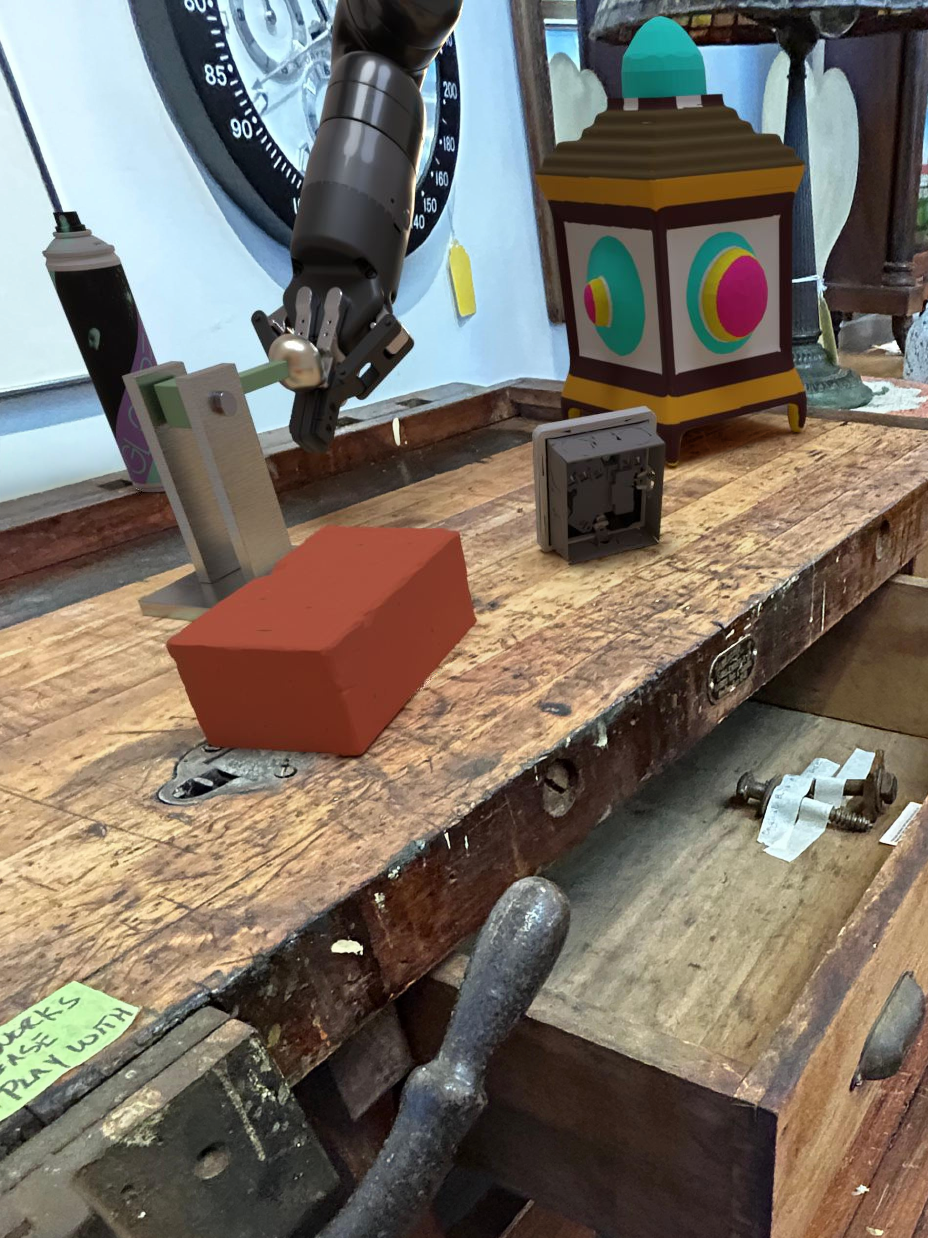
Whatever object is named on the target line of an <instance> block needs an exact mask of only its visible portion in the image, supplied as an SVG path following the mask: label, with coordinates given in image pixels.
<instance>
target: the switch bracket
mask: <svg viewBox="0 0 928 1238" xmlns="http://www.w3.org/2000/svg"><path fill="white" fill-rule="evenodd" d="M238 373H239V372H238V368H237V364H236V363H235V362H221V363H218V364H214V365H212V366H208V367H205V368H202V369H199V370H196V371H192V372H190V373H188V371H187V368H186V365H185V363H184V361H181V360H180V361H179V360H170V361H166V362H164V363H163V362H162V363H159V364H158V365H156V366H153V367H150V368H147V369H143V370H140V371H137V372H133V373H130V374H127V375H123V376H122V378H123V381H124V383H125V386H126V388H127V391H128V394H129V396H130V399H131V402H132V404H133V407H134V410H135V412H136V415H137V418H138V420H139V423H140V425H141V428H142V431H143V433H144V436H145V439H146V441H147V444H148V447H149V449H150V452H151V454H152V457H153V460H154V462H155V465H156V468H157V470H158V473H159V476H160V478H161V481H162V483H163V486H164V489H165V491H164V492H165V495H166V497H167V499H168V502H169V505H170V507H171V509H172V513H173V515H174V517H175V520H176V524H177V526H178V528H179V531H180V534H181V536H182V540H183V541H184V544H185V546H186V550H187V553H188V555H189V557H190V559H191V563H192V566H193V567H194V571H192V572H191V573H188V574H186V575H184V576H182V577H181V578H179V579H177V580H175V581H173V582H170V583H169V584H167V585H165V586H163V587H161V588H159V589H157V590H156V591H154V592H152V593H150V594H148V595H146V596H144V597H142V598H140V599H139V600H137V603H138V605H139V608H140V610H141V612H142V615H143V616H147V617H156V618H164V619H173V620H181V621H188V622H189V621H191V622H193V621H195V620H196V619H197V618H199V617H200V616H201V615H203V614H204V613H205V612H207V611H208V610H210V609H211V608H212V607H214V606H215V605H216V604H218V603H219V602H221V601H222V600H224V599H225V598H227V597H228V596H230V595H231V594H233V593H234V592H236V591H237V590H238V589H240V588H242V587H243V586H244V585H246V584H248V583H249V582H250V581H252V580H253V579H255V578H260V577H264V576H268V575H270V574H272V571H273V568H274V567H275V565H276V564H277V563H278V562H279V561H280V560H281V559H282V558H283V557H284V556H286V555H287V554H288V553H289V552H291V551H292V550H294V549H295V548H297V547H298V546H299V545H295V544H292V541H291V538H290V535H289V531H288V529H287V526H286V521H285V519H284V516H283V513H282V509H281V506H280V503H279V499H278V496H277V493H276V490H275V487H274V483H273V480H272V477H271V474H270V471H269V468H268V463H267V461H266V457H265V455H264V451H263V449H262V448H263V447H262V445H261V442H260V439H259V436H258V433H257V430H256V426H255V422H254V420H253V417H252V413H251V410H250V407H249V404H248V400H247V397H246V394H244V390H243V387H242V384H241V381H240V378H239V374H238ZM176 377H177V378H176ZM173 378H175V381H176V384H177V387H178V390H179V393H180V396H181V399H182V401H183V404H184V407H185V410H186V413H187V416H188V419H189V422H190V424H191V427H192V429H186V428H170V427H169V426H168V424H167V421H166V418H165V416H164V413H163V410H162V407H161V405H160V402H159V399H158V396H157V394H156V391H155V388H154V385H155V384H158V383H161V382H164V381H167V380H170V379H173Z"/></svg>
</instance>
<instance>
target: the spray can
mask: <svg viewBox="0 0 928 1238" xmlns="http://www.w3.org/2000/svg"><path fill="white" fill-rule="evenodd" d="M52 215H53V218H54V221H55V224H56V226H54V229H55V231H52V236H53V237H54V238H53V239H52V240H51V241H50V243H49V244H48V246H47V247H46V248H45V249H44V250H42V251H41V253H42V257H44V258H45V263H44V264H45V267H46V270H47V272H48V275H49V277H50V280H51V282H52V285H53V288H54V290H55V292H56V295H57V297H58V299H59V302H60V306H61V307H62V310H63V312H64V315H65V317H66V320H67V322H68V325H69V327H70V330H71V333H72V335H73V337H74V341H75V343H76V345H77V348H78V350H79V352H80V355H81V358H82V361H83V363H84V366H85V368H86V371H87V373H88V375H89V378H90V380H91V383H92V385H93V388H94V390H95V393H96V396H97V398H98V401H99V403H100V405H101V408H102V411H103V413H104V415H105V418H106V420H107V423H108V426H109V428H110V430H111V433H112V435H113V438H114V440H115V443H116V445H117V448H118V450H119V454H120V456H121V458H122V461H123V463H124V466H125V469H126V471H127V473H128V476H129V478H130V481H131V483H132V485H133V488H134V487H135V488H137V489H139V490H141V491H142V493H162V492H164V493H165V492H166V491H165V489H164V486H163V483H162V481H161V478H160V476H159V473H158V470H157V468H156V465H155V462H154V460H153V457H152V454H151V452H150V449H149V447H148V444H147V441H146V439H145V436H144V433H143V431H142V428H141V425H140V423H139V420H138V418H137V415H136V412H135V410H134V407H133V404H132V402H131V399H130V396H129V394H128V391H127V388H126V386H125V383H124V381H123V378H122V376H123V375H127V374H130V373H133V372H137V371H140V370H143V369H147V368H150V367H153V366H156V365H159V364H158V362H157V361H158V360H157V359H156V356H155V353H154V351H153V348H152V345H151V342H150V339H149V336H148V334H147V330H146V328H145V324H144V322H143V319H142V317H141V314H140V312H139V309H138V305H137V303H136V300H135V297H134V294H133V292H132V288H131V286H130V283H129V280H128V278H127V275H126V272H125V270H124V267H123V264H122V261H121V259H120V257H119V256H118V255H117V253H116V247H115V245H113V244H109V243H108V242H106V241H104V240H102V239H101V238H99V237H97V236H96V235H93V232H92V229H90V228H87V227H86V224H83V223H82V221H81V219H80V217H79V214H78V211H76V210H74V211H73V210H72V211H53V212H52ZM135 488H134V489H135ZM141 491H140V492H141Z"/></svg>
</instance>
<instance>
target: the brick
mask: <svg viewBox="0 0 928 1238" xmlns="http://www.w3.org/2000/svg"><path fill="white" fill-rule="evenodd" d="M297 546H298V547H297V548H295V549H294V550H292V551H291V552H289V553H288V554H287V555H286V556H284V557H283V558H282V559H281V560H280V561H279V562H278V563H277V564H276V565H275V567H274V568H273V571H272V574H270V575H268V576H264V577H260V578H255V579H253V580H252V581H250V582H249V583H248V584H246V585H244V586H243V587H242V588H240V589H238V590H237V591H236V592H234V593H233V594H231V595H230V596H228V597H227V598H225V599H224V600H222V601H221V602H219V603H218V604H216V605H215V606H214V607H212V608H211V609H210V610H208V611H207V612H205V613H204V614H203V615H201V616H200V617H199V618H197V619H196V620H195V621H191V622H190V623H188V624H187V625H186V626H184V627H183V628H181V630H180V631H179V632H178V633H176V634H174V635H172V636H170V637H169V638H168V639H167V640H166V643H165V644H166V649H167V652H168V654H169V656H170V658H171V659H173V661H174V662H175V664H176V669H177V673H178V675H179V677H180V680H181V683H182V684H183V686H184V691H185V693H186V695H187V697H188V701H189V704H190V705H191V708H192V709H193V712H194V714H195V717H196V720H197V722H198V725H199V727H200V729H201V730H202V732H203V734H204V736H205V739H206V742H207V743H208V744H209V745H210V746H211V747H214V748H230V749H244V750H245V749H246V750H247V749H248V750H264V751H284V752H285V751H289V752H299V753H321V754H323V753H325V754H336V755H339V756H342V757H345V756H346V757H347V756H361V755H362V754H364V753H365V752H366V750H367V749H368V748H369V746H371V745H372V744H373V743H374V741H375V739H376V738H377V737H378V735H379V734H380V733H381V732H382V731H383V730H384V728H386V726H387V725H389V724H390V723H391V721H392V720H393V719H394V717H395V716H396V715H397V714H398V712H400V710H401V709H402V708H404V705H406V703H407V702H408V701H409V700H410V698H411V697H412V696H414V694H415V693H417V691H418V690H419V689H420V688H421V687H422V686H423V685H424V684H425V683H426V682H427V681H428V678H429V677H430V676H431V675H432V674H433V672H434V671H435V670H437V668H438V667H439V665H440V664H441V663H442V662H443V660H445V659H446V658H447V656H448V655H449V654H450V653H451V651H453V649H454V648H455V647H456V646H457V645H458V644H459V643H460V642H461V641H462V639H464V637H465V636H466V635H467V634H468V632H469V631H470V630H471V629H472V627H474V625H476V623H477V621H478V619H477V617H476V616H475V611H474V602H473V598H472V595H471V591H470V586H469V583H468V582H469V581H468V569H467V564H466V559H465V555H464V549H463V545H462V538H461V533H460V532H459V531H457V530H448V529H447V528H444V527H432V528H429V527H386V526H367V525H366V526H345V525H335V524H334V525H325V526H321V528H320V529H318V530H317V531H315V532H314V533H312V534H310V536H309V537H307V538H305V540H304V541H303V542H302V543H301V544H299V545H297Z"/></svg>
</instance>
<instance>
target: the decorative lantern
mask: <svg viewBox="0 0 928 1238" xmlns="http://www.w3.org/2000/svg"><path fill="white" fill-rule="evenodd" d="M620 75H621V93H622V97H610V98H606V109H605V110H604V111H601V112H599V113H597V114H596V115H595V117H594V121H593V123H592V124H591V125H590V126H588V127H585V128H583V130H582V132H581V135H580V138H579V139H576V140H565V141H564V140H563V141H560V142H558V143H556V144H555V148H554V152H553V153H551V154H549V155H546V156H545V157H544V158H543V159H542V164H541V167H539V168H537V169H536V170H535V171H534V177H535V179H536V182H537V184H538V186H539V188H540V191H541V192H542V194H543V197H544V198H545V200H546V202H547V204H548V207H549V209H550V213H551V217H552V224H553V232H554V240H555V241H554V242H555V248H556V257H557V264H558V274H559V281H560V289H561V298H562V305H563V306H562V307H563V315H564V322H565V323H564V324H565V331H566V338H567V339H566V340H567V348H568V356H569V365H568V366H569V367H568V372H567V374H566V375H567V376H566V378H565V382H564V385H563V389H562V391H561V395H560V410H561V417H562V421H564V420H570V419H575V418H581V417H582V411H584V412H587V413H591V414H593V415H597V414H603V413H608V412H614V411H620V410H625V409H631V408H636V407H642V406H646V407H647V408H648V409H650V410H651V411H652V412H654V414H655V415H656V417H657V425H656V434H657V435H658V436H659V437H660V438H661V439H662V440H663V441H664V442H665V444H666V449H665V462H666V463H667V464H666V465H668V466H670V467H675V466H677V465H678V463H679V460H680V454H681V453H680V452H681V443H682V442H681V441H682V437H683V435H684V434H685V433H687V432H688V431H689V430H693V429H696V428H699V427H704V426H708V425H711V424H715V423H719V422H723V421H726V420H730V419H734V418H735V419H736V418H739V417H742V416H746V415H751V414H754V413H759V412H762V411H766V410H770V409H773V408H777V407H782V406H785V405H786V409H787V421H788V426H789V428H790V430H791V431H792V432H795V433H799V432H801V431H802V430H803V429H804V427H805V424H806V422H807V413H808V397H807V393H806V388H805V387H804V383H803V382H802V379H801V377H800V375H799V373H798V372H799V371H798V370H797V367H796V366H795V362H794V356H793V213H794V212H793V209H794V202H795V198H796V194H797V192H798V189H799V187H800V184H801V181H802V179H803V177H804V173H805V169H806V162H805V160H804V159H802V158H801V157H799V156H798V155H797V153H796V150H795V149H794V147H791V146H788V145H785V144H784V142H783V141H782V138H781V136H780V135H779V134H777V133H770V132H769V133H768V132H767V133H764V132H763V133H759V132H756V131H755V130H754V128H753V124H752V123H751V122H750V121H747V120H744V119H742V118H740V116H739V114H738V111H737V110H736V109H735V108H733V107H730V106H727V105H725V102H724V101H725V100H724V93H708V92H707V91H708V90H707V89H708V88H707V77H706V66H705V61H704V57H703V54H702V52H701V51H700V48H699V47H698V46H697V44H696V43H695V42H694V40H693V39H692V38H691V36H690V35H689V34H688V32H687V31H686V30H685V29H684V28H683V27H682V26H681V25H680V24H679V23H678V22H676V21H675V20H672V18H668V17H667V16H666V17H665V16H662V15H659V16H655V17H652V18H650V19H649V20H648V21H646V22H645V23H644V24H643V25H642V26H641V27H640V28H639V29H638V30H637V31H636V33H635V35H634V36H633V38H632V40H631V42H630V43H629V45H628V47H627V49H626V51H625V53H624V54H623V56H622V63H621V73H620Z"/></svg>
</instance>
